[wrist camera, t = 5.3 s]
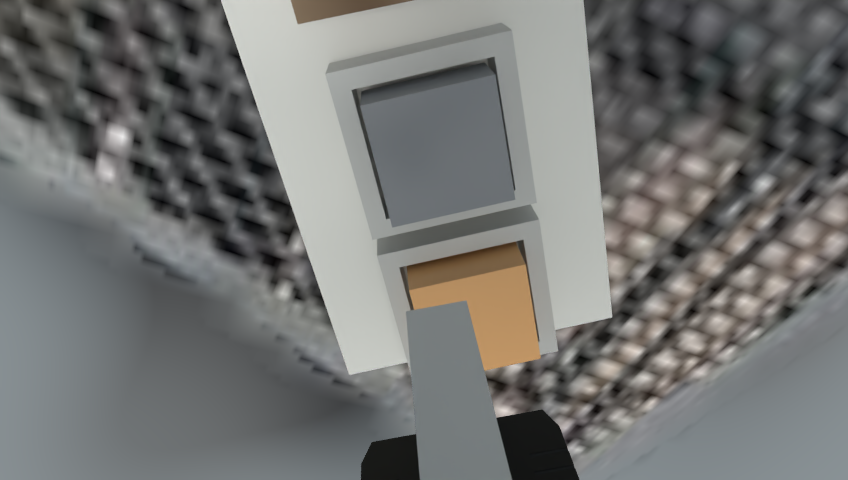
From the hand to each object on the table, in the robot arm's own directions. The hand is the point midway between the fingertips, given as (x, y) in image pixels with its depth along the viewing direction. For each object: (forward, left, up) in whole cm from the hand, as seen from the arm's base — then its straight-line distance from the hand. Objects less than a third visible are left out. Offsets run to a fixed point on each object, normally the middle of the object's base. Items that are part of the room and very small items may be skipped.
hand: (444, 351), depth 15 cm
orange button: (-1, +6, -12) cm, 14 cm away
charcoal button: (-1, -2, -12) cm, 12 cm away
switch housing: (-1, -2, -17) cm, 17 cm away
